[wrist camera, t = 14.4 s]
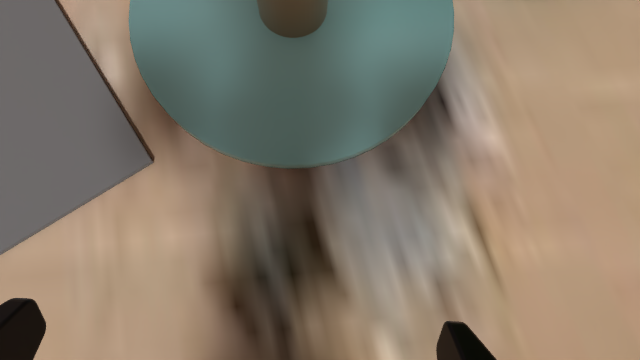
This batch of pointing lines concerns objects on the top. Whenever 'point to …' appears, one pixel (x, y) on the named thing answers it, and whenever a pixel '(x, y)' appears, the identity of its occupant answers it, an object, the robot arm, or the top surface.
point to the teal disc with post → (291, 72)
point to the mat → (54, 123)
